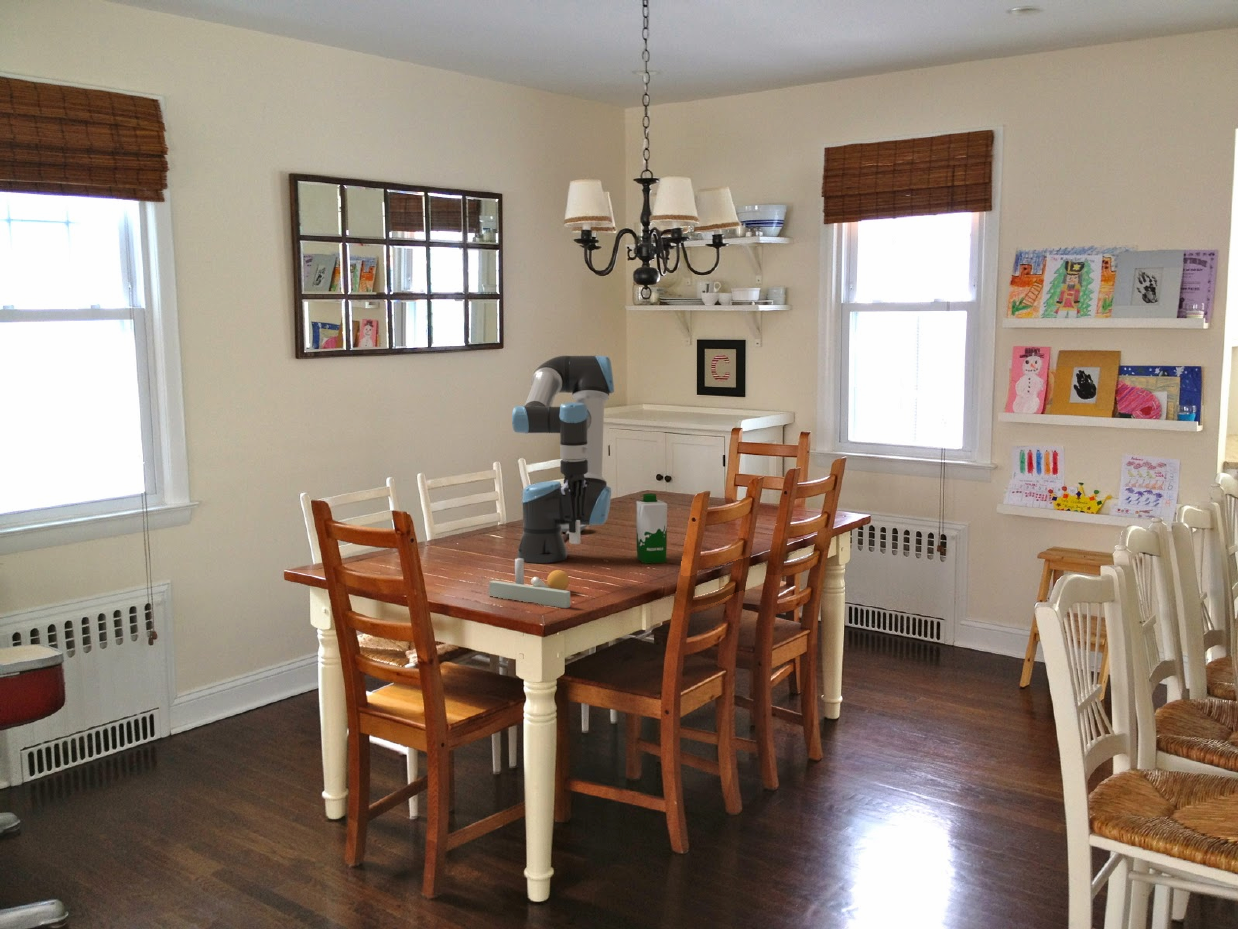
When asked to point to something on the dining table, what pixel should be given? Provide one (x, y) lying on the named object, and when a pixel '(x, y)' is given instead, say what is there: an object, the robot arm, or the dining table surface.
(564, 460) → the robot arm
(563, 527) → the spoon
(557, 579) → the ball
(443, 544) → the dining table surface
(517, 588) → the wall
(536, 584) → the pin
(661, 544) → the milk carton
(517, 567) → the grey pin
